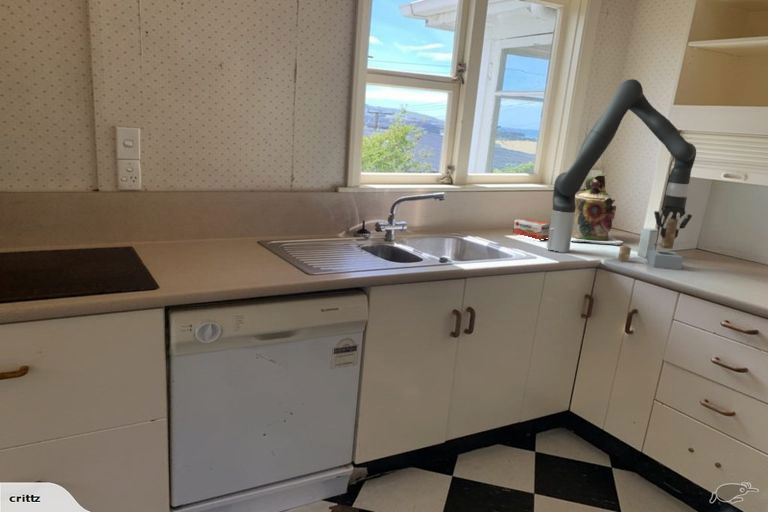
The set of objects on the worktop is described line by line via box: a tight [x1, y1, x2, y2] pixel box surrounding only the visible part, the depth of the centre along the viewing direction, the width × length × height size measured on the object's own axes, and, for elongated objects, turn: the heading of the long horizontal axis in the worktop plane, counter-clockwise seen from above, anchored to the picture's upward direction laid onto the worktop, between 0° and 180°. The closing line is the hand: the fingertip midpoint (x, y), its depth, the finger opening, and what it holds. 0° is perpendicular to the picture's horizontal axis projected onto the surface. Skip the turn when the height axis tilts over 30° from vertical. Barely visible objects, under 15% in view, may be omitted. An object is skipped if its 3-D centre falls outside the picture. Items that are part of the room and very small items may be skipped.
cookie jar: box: [571, 173, 624, 246], centre depth 261 cm, size 25×25×32 cm
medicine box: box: [512, 218, 551, 240], centre depth 259 cm, size 15×8×8 cm, turn 43°
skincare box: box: [637, 227, 659, 259], centre depth 233 cm, size 6×4×12 cm
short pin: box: [617, 244, 632, 263], centre depth 223 cm, size 3×3×6 cm
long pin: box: [660, 219, 678, 250], centre depth 217 cm, size 3×3×12 cm
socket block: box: [646, 249, 684, 271], centre depth 220 cm, size 10×10×5 cm
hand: (668, 237), depth 217 cm, fingers closed on long pin, 3 cm apart
